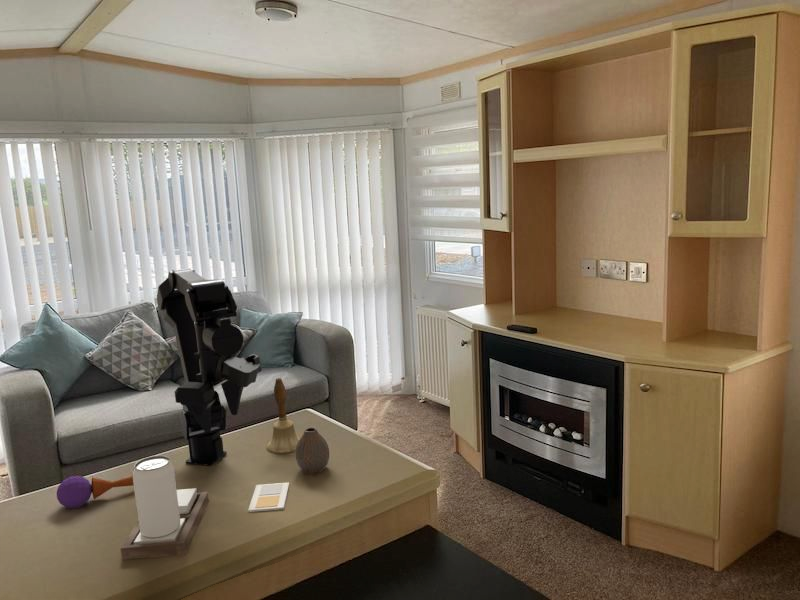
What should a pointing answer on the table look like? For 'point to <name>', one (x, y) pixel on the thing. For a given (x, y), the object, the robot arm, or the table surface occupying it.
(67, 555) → the table surface
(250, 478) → the table surface
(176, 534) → the outer pad
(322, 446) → the vase
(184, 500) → the inner pad
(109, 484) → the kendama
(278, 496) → the pattern card
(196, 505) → the button board
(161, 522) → the can
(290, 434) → the hand bell
